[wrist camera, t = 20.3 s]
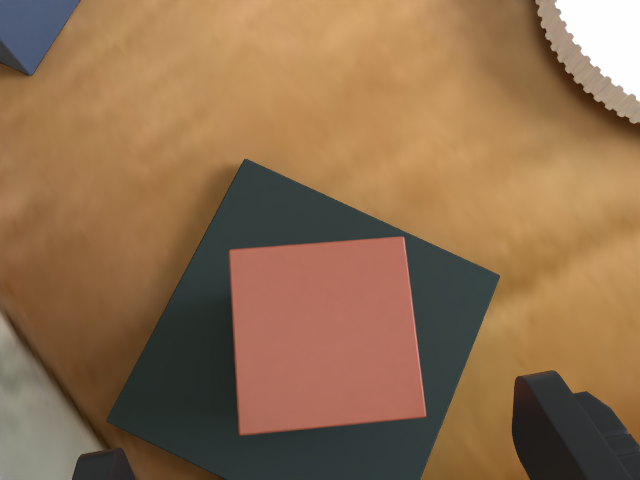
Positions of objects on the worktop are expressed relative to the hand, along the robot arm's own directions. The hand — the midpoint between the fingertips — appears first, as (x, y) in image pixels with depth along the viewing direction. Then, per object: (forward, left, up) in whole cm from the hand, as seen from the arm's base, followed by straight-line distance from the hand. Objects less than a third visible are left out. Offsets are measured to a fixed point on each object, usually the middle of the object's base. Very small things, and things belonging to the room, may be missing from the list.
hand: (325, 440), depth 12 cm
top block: (+2, +1, -12) cm, 12 cm away
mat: (+2, +1, -12) cm, 13 cm away
